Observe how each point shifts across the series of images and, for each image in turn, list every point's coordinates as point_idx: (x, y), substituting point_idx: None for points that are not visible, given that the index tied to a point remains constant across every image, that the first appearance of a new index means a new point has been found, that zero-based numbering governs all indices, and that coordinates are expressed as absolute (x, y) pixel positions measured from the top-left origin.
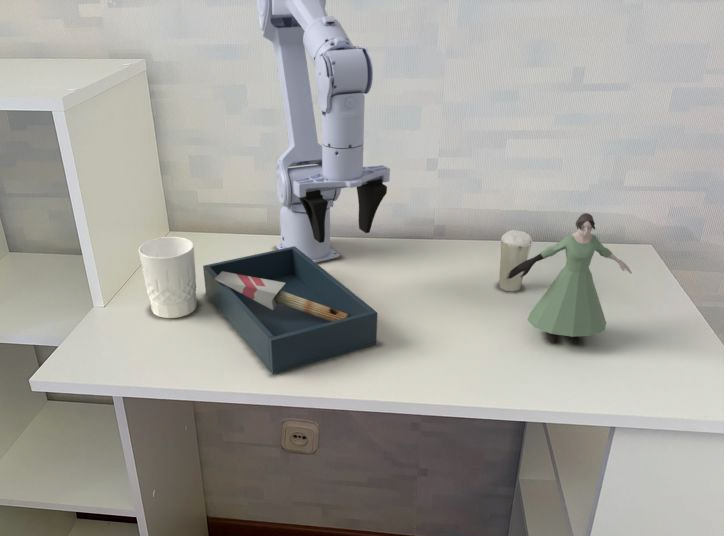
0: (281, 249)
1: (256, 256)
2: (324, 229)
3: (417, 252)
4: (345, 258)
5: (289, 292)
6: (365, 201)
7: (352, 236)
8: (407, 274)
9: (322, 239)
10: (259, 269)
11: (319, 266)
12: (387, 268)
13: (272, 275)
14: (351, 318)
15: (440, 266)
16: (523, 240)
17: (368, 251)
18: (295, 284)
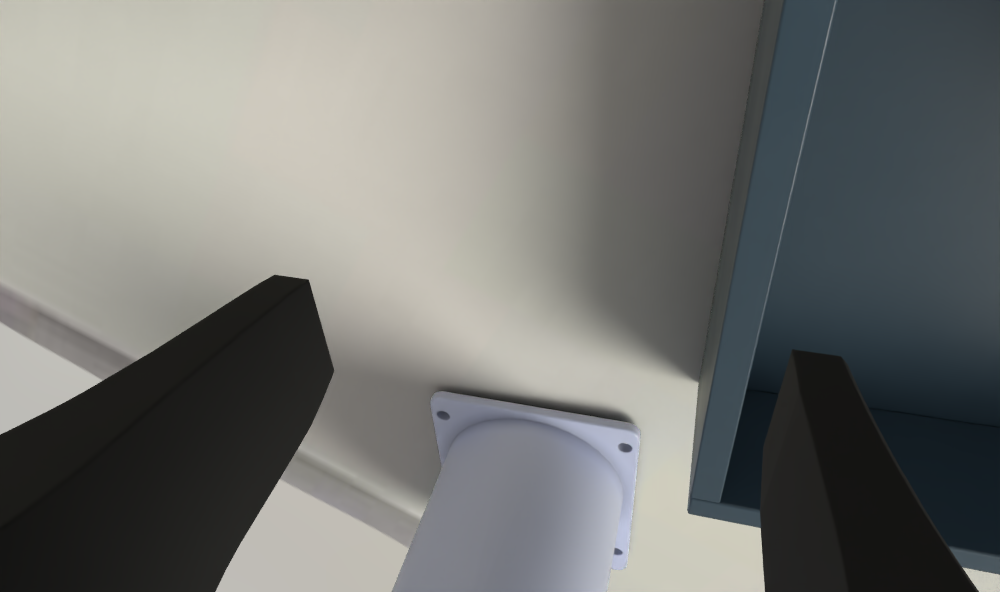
0: None
1: (977, 551)
2: (825, 458)
3: (110, 256)
4: (414, 373)
5: (894, 251)
6: (116, 578)
7: (321, 471)
8: (196, 109)
9: (826, 372)
10: (942, 474)
11: (741, 262)
12: (272, 210)
13: None
14: None
15: (27, 95)
16: None
17: None
18: (792, 303)
